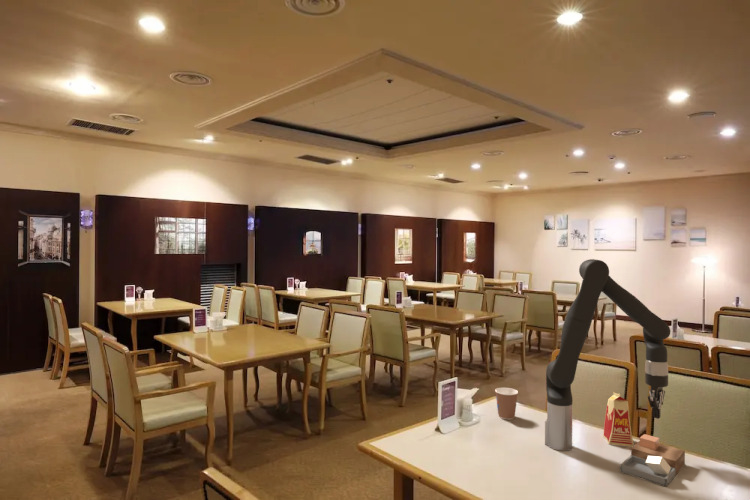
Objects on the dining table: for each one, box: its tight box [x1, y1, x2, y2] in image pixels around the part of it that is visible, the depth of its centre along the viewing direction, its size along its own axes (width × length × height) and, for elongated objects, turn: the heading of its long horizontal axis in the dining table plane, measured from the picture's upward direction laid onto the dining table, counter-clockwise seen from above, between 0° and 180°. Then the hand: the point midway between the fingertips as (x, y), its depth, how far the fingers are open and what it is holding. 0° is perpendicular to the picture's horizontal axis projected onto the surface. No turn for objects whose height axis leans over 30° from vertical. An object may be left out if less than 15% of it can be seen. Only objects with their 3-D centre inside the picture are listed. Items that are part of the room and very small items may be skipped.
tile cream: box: [645, 456, 671, 475], centre depth 158 cm, size 5×5×3 cm
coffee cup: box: [494, 387, 519, 420], centre depth 214 cm, size 10×10×12 cm
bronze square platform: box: [630, 440, 686, 475], centre depth 169 cm, size 14×12×5 cm
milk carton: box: [603, 391, 635, 448], centre depth 188 cm, size 9×9×20 cm
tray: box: [619, 454, 677, 487], centre depth 161 cm, size 14×11×2 cm
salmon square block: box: [639, 433, 660, 450], centre depth 172 cm, size 5×5×3 cm
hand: (656, 417), depth 177 cm, fingers closed
